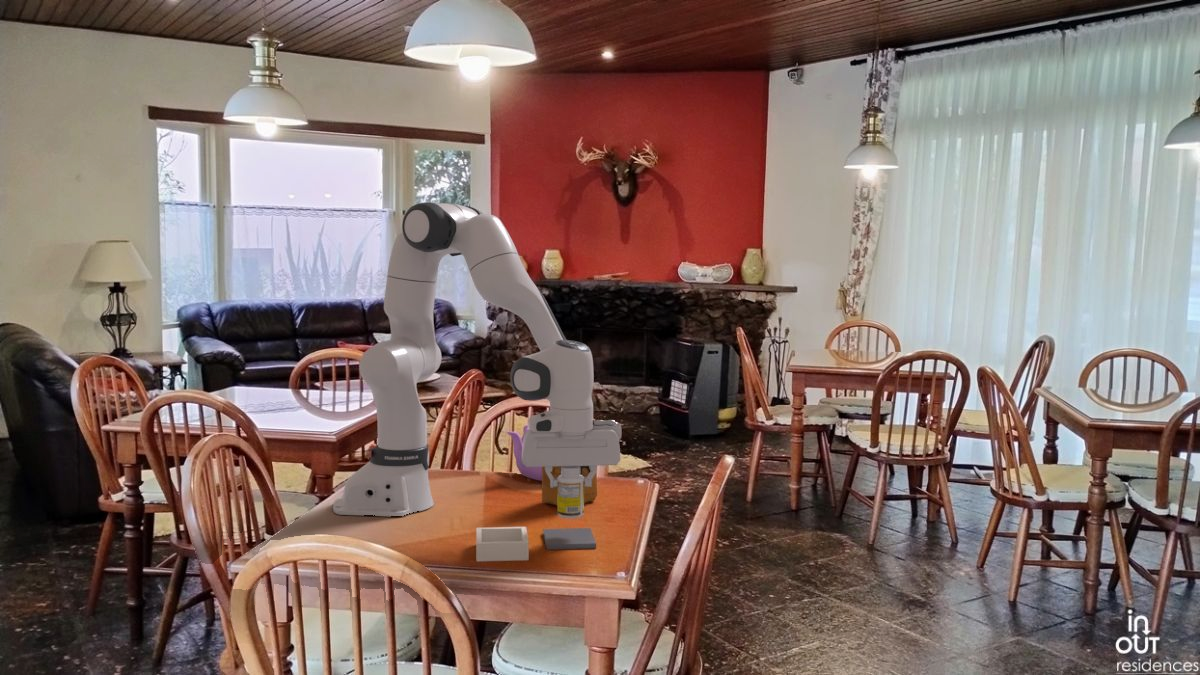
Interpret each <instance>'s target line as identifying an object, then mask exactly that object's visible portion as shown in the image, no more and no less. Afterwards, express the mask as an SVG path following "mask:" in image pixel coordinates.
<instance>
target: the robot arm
mask: <svg viewBox="0 0 1200 675" xmlns="http://www.w3.org/2000/svg"><path fill="white" fill-rule="evenodd" d="M401 224H402V225H401V232H399V233H398V234H397V236H396V237H395V239H394V242H393V245H392V250H391V252H390V257H389V262H388V268H387V276H386V282H385V283H386V285H385V290H384V291H385V292H384V301H383V311H384V313H385V315H386V316H387V317H388V318H387V319H388V321H389V325H390V339H388V340H382V341H380V342H378V343H375V344H373V345H372V346H371V347H369V348H368V349H367V350H365V351H364V353H363V354H362V355H361V358H360V360H359V365H358V366H359V373H360V377H361V378H362V380H363V381H364V382H365V384H366V385H368V387H369V388H370V391H371V394H372V397H373V401H374V404H375V410H376V415H377V416H376V417H377V418H376V420H377V423H376V424H377V444H376V443H371V444H370V445H369V446H368V449H367V450H368V461H369V462H367V463H365V465H363V466H362V467H360V468H359V469H358V470H357V471H355V472H354V473H353V474H352V475H351V476H349V478H348V479H347V480H346V482H345V483H344V484H345V485H344V488H343V495H342V496H339V497H338V498H336V499H335V500H334V502H333V504H332V505H333V506H332V511H333V513H335V514H336V515H343V516H344V515H345V516H364V515H373V517H391V516H402V517H404V515H405V516H407V515H406V514H408V515H410V514H414V513H418V512H417V511H419V512H423V511H425V510H426V511H427V510H428V509H430V508H432V507H433V506H434V503H435V502H434V500H433V497H432V492H431V486H430V481H429V473H428V471H429V470H428V469H429V466H430V449H429V444H428V443H427V442H428V440H427V437H428V436H427V434H428V433H427V430H428V428H427V424H428V422H427V421H428V419H427V418H428V417H427V416H428V414H427V410H426V408H425V407H424V406H423V405H422V403H421V401H420V397H419V394H418V387H417V384H418V383H420V382H424V381H426V380H428V379H429V378H430V377H432V376H433V375H434V374H435V373H436V372H437V371H438V370H439V368H440V366H441V364H442V359H443V358H442V351H441V349H440V347H439V345H438V343H437V341H436V334H435V324H434V310H435V309H434V308H435V300H436V291H437V283H438V282H437V281H438V272H439V265H440V262H441V260H442V259H443V258H444V257H445V256H447V255H450V256H451V257H456V256H461V255H462V256H463V259H464V261H465V263H466V265H467V268H468V271H469V274H470V276H471V279H472V281H473V282H472V283H473V285H474V287H475V289H476V290H477V292H478V294H479V295H480V297H481V298H482V300H484V301H486V302H487V303H489V304H490V305H493V306H495V307H498V308H501V309H504V310H507V311H509V312H511V313H513V314H515V316H517V317H519V318H520V319H522V320H523V321H524V323H525V324H526V325H527V328H528V329H529V331H530V333H531V335H532V337H533V340H534V341H535V343H536V345H537V346H538V349H539V351H538V352H536V353H532V354H529V355H525V356H522V357H520V358H518V359H516V360H515V362H514V363H513V364H512V367H511V370H510V377H509V380H510V385H511V388H512V391H513V392H514V393H515V395H516V396H517V397H518V398H519V399H521V400H524V401H528V402H536V401H543V400H547V401H549V410H547V411H544V412H541V413H538V414H534V415H531V416H529V418H528V421H527V425H528V427H529V429H528V430H527V431H526V433H525V435H524V440H523V446H522V463H523V464H524V465H525V466H526V467H545V472H546V473H547V475H548V477H549V479H550V488H558V484H557V483H558V479H557V477H553V476H552V474H551V473H550V472H552V466H589V468H590V470H591V471H590V473H589V475H588V476H587V477H584V487H591V485H592V478H593V477H594V475H595V473H596V472H597V471H598V467H599V466H602V467H603V466H617V465H618V464H619V463H620V462H621V448H620V442H619V441H620V440H621V439H622V434H623V433H622V429H623V428H622V426H621V425H620V423H619V422H617V421H615V420H614V419H607V420H603V419H594V402H593V398H592V397H593V396H592V393H593V388H594V384H595V382H594V381H595V380H594V377H595V375H594V360H593V359H594V358H593V354H592V351H591V349H590V347H589V346H587V344H585V343H583V342H580V341H576V340H569V339H567V338H566V336H565V335H564V333H563V331H562V329H561V327H560V325H559V322H558V321H557V318H556V317H555V315H554V312H553V311H552V309H551V307H550V306H549V303H548V301H547V300H546V298H545V296H544V295H543V293H542V291H541V289H539V287H538V286H537V285H536V284H535V283H534V281H533V280H532V278H531V277H530V275H529V273H528V272H527V270H526V268H525V266H524V264H523V262H522V260H521V257H520V255H519V253H518V250H517V247H516V246H515V243H514V241H513V239H512V238H511V235H510V234H509V231H508V230H507V228H506V227H505V225H504V224H503V222H502V220H501V219H500V218H499V217H497V216H496V215H494V214H489V213H483V212H481V210H478V209H476V208H474V207H472V206H468V205H462V204H458V203H451V202H443V203H441V202H440V203H439V202H429V201H427V202H421V203H420V202H419V203H416V204H414V205H412V206H411V207H408V209H407V211H406V212H405V214H404V216H403V219H402V223H401ZM597 473H598V472H597ZM413 512H414V513H413ZM409 513H410V514H409ZM374 515H375V516H374Z"/></svg>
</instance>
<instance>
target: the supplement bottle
mask: <svg viewBox="0 0 1200 675" xmlns="http://www.w3.org/2000/svg"><path fill="white" fill-rule="evenodd" d="M580 474H581V471H580V466H562V467H561V475H559V476H558V478H557V479H558V483H557V484H558V488H557V505H556V509H557V510H556V511H557V512H556V513H557V515H558V517H561V518H563V519H571V520H572V519H579V518H581V517H582V516H584V515H585V503H584V477H583V476H582V475H580Z"/></svg>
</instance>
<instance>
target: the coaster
mask: <svg viewBox="0 0 1200 675" xmlns="http://www.w3.org/2000/svg"><path fill="white" fill-rule="evenodd" d="M542 535H543V538H544V543H545V547H546V550H571V549H572V550H574V549H575V550H576V549H577V550H578V549H579V550H581V549H597V541H596V539H595V536H594V534H593V532H592V529H591V528H590V527H583V528H582V527H579V528H576V527H575V528H573V527H572V528H544V529H542Z"/></svg>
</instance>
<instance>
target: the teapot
mask: <svg viewBox="0 0 1200 675" xmlns="http://www.w3.org/2000/svg"><path fill="white" fill-rule="evenodd" d="M528 429H529V427H528V424H526V425H524V427H523V434H522V436H521V435H520V434H519V433H518V432H517V431H511V430H508V431H505V433H507V434H508V435H509V436H510V437H511V438H512V442H513V445H512V446H513V455H514V458H515V465H516V467H517V470H518V472H519V473H520V474H521V475H522V476H524V477H527V478H528V479H532V480H536V481H540V482H542V467H526V466H525V465H524V464H523V463H522V446H523V440H524V435H525V433H526V431H527V430H528Z"/></svg>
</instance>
